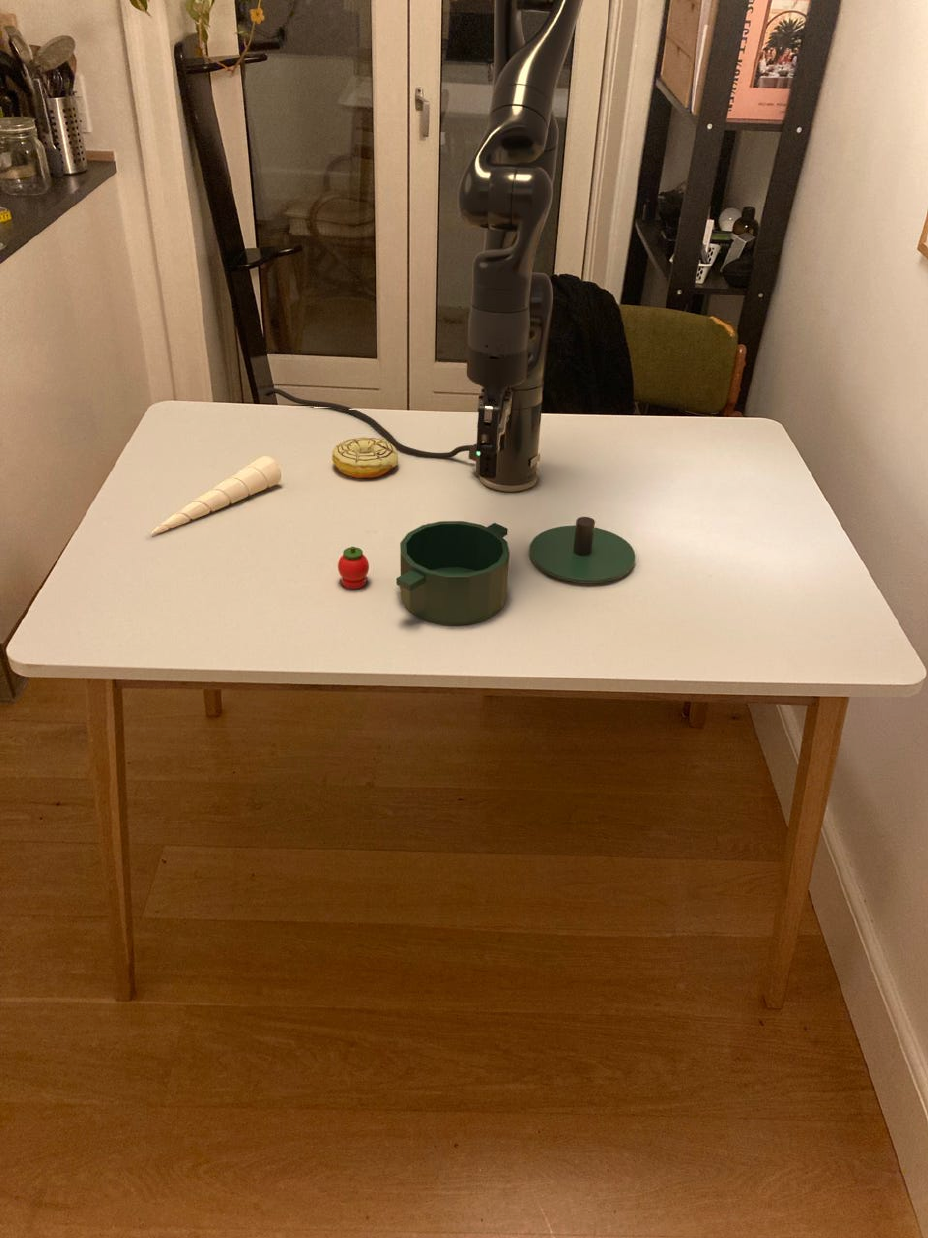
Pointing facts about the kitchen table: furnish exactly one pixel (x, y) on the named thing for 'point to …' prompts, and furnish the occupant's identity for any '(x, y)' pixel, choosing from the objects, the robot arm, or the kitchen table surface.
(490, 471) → the robot arm
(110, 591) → the kitchen table surface
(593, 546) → the lid
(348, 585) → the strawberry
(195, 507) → the unicorn horn
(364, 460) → the decorated donut
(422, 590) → the pan
